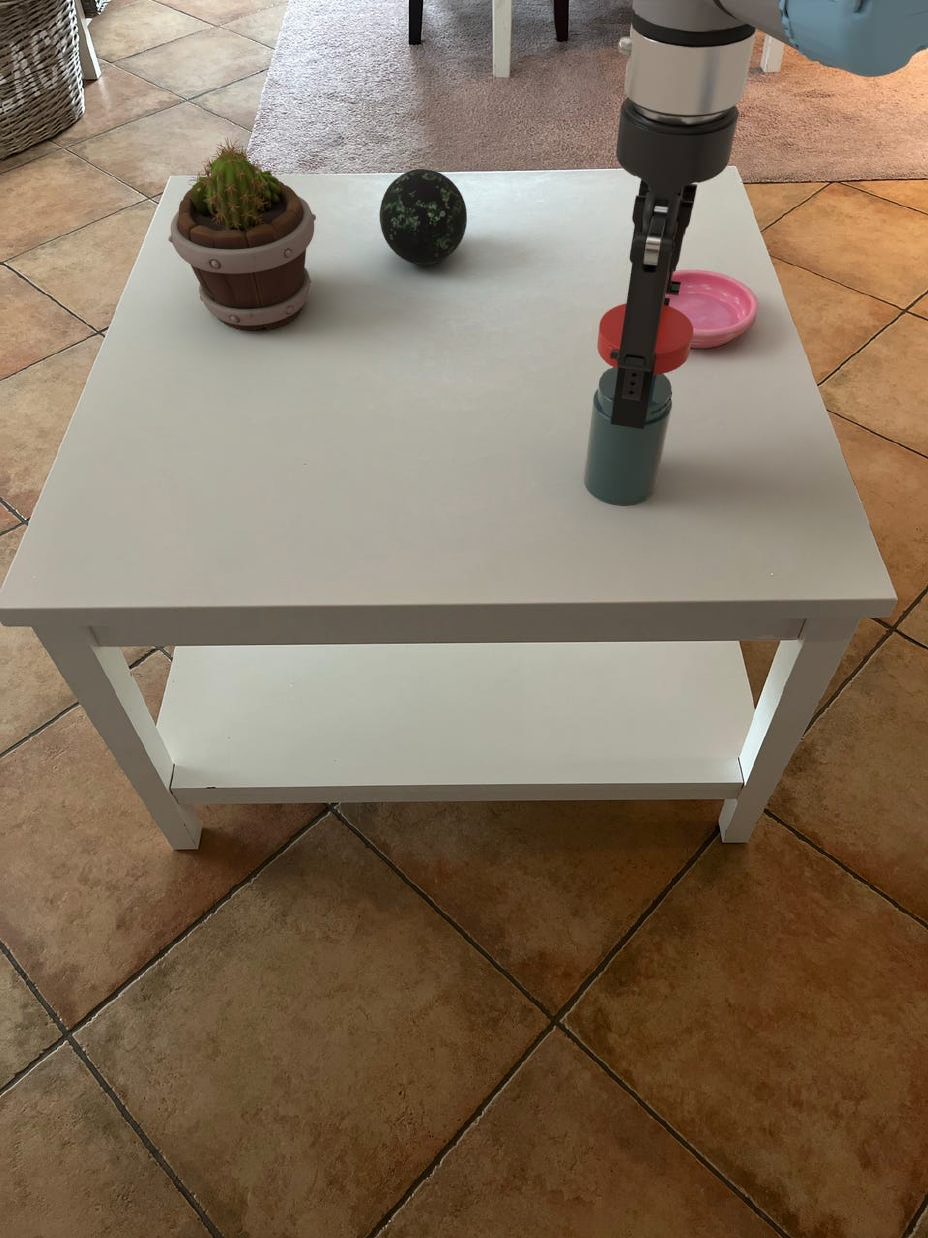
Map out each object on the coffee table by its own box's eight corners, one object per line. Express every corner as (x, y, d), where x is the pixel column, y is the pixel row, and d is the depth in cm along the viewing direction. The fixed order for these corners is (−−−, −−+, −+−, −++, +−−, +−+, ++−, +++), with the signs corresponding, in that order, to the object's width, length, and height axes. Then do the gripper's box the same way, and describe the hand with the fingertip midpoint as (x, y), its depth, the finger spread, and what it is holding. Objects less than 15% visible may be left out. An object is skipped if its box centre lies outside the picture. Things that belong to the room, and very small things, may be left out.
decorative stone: (482, 266, 107) (482, 181, 100) (406, 290, 104) (400, 204, 97) (443, 228, 113) (440, 145, 105) (369, 250, 110) (361, 165, 102)
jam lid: (577, 348, 73) (579, 327, 71) (635, 311, 76) (638, 290, 75) (650, 387, 70) (654, 366, 68) (707, 346, 73) (712, 325, 71)
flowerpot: (192, 279, 106) (142, 94, 91) (323, 265, 108) (297, 82, 92) (189, 352, 97) (133, 161, 82) (332, 336, 99) (305, 146, 83)
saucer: (644, 286, 104) (648, 260, 102) (755, 300, 102) (762, 274, 100) (628, 349, 97) (632, 323, 94) (748, 365, 95) (755, 339, 92)
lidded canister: (670, 480, 84) (691, 384, 76) (625, 516, 81) (641, 421, 73) (614, 446, 87) (629, 351, 79) (569, 480, 84) (578, 385, 76)
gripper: (644, 38, 65) (610, 321, 83) (595, 164, 53) (567, 464, 71) (751, 46, 64) (693, 332, 82) (726, 178, 52) (664, 480, 69)
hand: (635, 393), depth 76 cm, fingers closed on jam lid, 7 cm apart
